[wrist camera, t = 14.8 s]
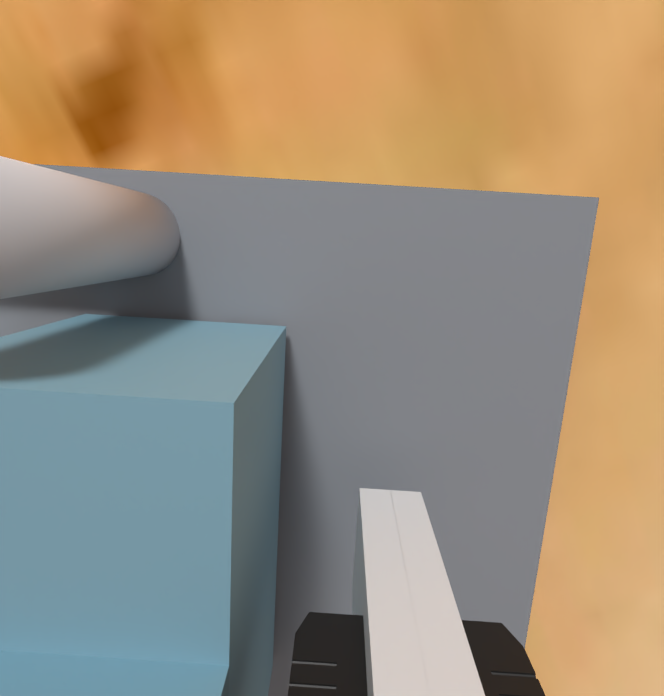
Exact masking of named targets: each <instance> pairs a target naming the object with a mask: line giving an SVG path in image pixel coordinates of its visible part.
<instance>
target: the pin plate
mask: <svg viewBox="0 0 664 696" xmlns="http://www.w3.org/2000/svg"><path fill="white" fill-rule="evenodd" d="M598 201H599V198H595V197H578V196H561V195H544V194H528V193H511V192H494V191H477V190H460V189H443V188H426V187H409V186H393V185H376V184H359V183H342V182H325V181H308V180H291V179H274V178H258V177H241V176H224V175H207V174H190V173H173V172H156V171H139V170H122V169H106V168H89V167H72V166H55V165H38V164H29V163H26V162H22V161H18V160H14V159H10V158H6V157H2V156H0V337H2V336H6V335H10V334H13V333H17V332H21V331H24V330H28V329H32V328H35V327H39V326H43V325H46V324H50V323H54V322H57V321H61V320H65V319H68V318H72V317H76V316H79V315H83V314H96V315H112V316H129V317H145V318H161V319H177V320H193V321H210V322H226V323H242V324H258V325H274V326H286V347H285V372H284V397H283V422H282V446H281V471H280V496H279V521H278V546H277V571H276V596H275V621H274V646H273V667H272V673H271V679H270V686H269V692H268V696H288V689H289V680H290V672H291V665H292V656H293V648H294V639H295V633H296V631H297V630H298V628H299V627H300V625H301V624H302V622H303V621H304V619H305V618H306V616H307V614H308V613H309V612H319V613H334V614H349V615H353V605H352V579H353V566H354V553H355V540H356V527H357V514H358V501H359V488H367V489H383V490H398V491H414V492H421V494H422V497H423V500H424V503H425V506H426V510H427V513H428V516H429V519H430V522H431V525H432V529H433V532H434V535H435V538H436V541H437V545H438V548H439V551H440V554H441V557H442V560H443V564H444V567H445V570H446V573H447V576H448V579H449V583H450V586H451V589H452V592H453V595H454V598H455V602H456V605H457V608H458V611H459V614H460V617H461V620H468V621H483V622H498V623H502V624H503V625H504V626H505V627H506V628H507V629H508V630H509V631H510V632H511V634H512V635H513V636H514V637H515V638H516V639H517V640H518V641H519V642H520V643H521V644H522V645H523V647H524V649H525V643H526V637H527V631H528V625H529V618H530V612H531V606H532V600H533V594H534V588H535V582H536V576H537V570H538V564H539V558H540V552H541V546H542V540H543V534H544V528H545V522H546V516H547V510H548V504H549V497H550V491H551V485H552V479H553V473H554V467H555V461H556V455H557V449H558V443H559V437H560V431H561V425H562V419H563V413H564V407H565V401H566V395H567V389H568V382H569V376H570V370H571V364H572V358H573V352H574V346H575V340H576V334H577V328H578V322H579V316H580V310H581V304H582V298H583V292H584V286H585V280H586V274H587V267H588V261H589V255H590V249H591V243H592V237H593V231H594V225H595V219H596V213H597V207H598Z"/></svg>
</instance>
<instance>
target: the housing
mask: <svg viewBox="0 0 664 696" xmlns="http://www.w3.org/2000/svg"><path fill="white" fill-rule="evenodd" d="M285 347H286V326H274V325H258V324H242V323H226V322H210V321H193V320H177V319H161V318H145V317H129V316H112V315H96V314H83V315H79V316H76V317H72V318H68V319H65V320H61V321H57V322H54V323H50V324H46V325H43V326H39V327H35V328H32V329H28V330H24V331H21V332H17V333H13V334H10V335H6V336H2V337H0V696H268V692H269V686H270V679H271V673H272V667H273V646H274V621H275V596H276V571H277V546H278V521H279V496H280V471H281V446H282V422H283V397H284V372H285Z"/></svg>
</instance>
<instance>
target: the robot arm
mask: <svg viewBox="0 0 664 696" xmlns="http://www.w3.org/2000/svg"><path fill="white" fill-rule="evenodd" d="M352 605H353V615H349V614H334V613H319V612H309V613H308V614H307V616H306V618H305V619H304V621H303V622H302V624H301V625H300V627H299V628H298V630H297V631H296V633H295V639H294V648H293V656H292V665H291V672H290V680H289V689H288V696H545V694H544V692H543V689H542V687H541V685H540V683H539V680H538V679H536V676H535V671H534V669H533V667H532V665H531V663H530V660H529V658H528V656H527V654H526V651H525V649H524V647H523V645H522V644H521V643H520V642H519V641H518V640H517V639H516V638H515V637H514V636H513V635H512V634H511V632H510V631H509V630H508V629H507V628H506V627H505V626H504V625H503V624H502V623H498V622H483V621H468V620H461V617H460V614H459V611H458V608H457V605H456V602H455V598H454V595H453V592H452V589H451V586H450V583H449V579H448V576H447V573H446V570H445V567H444V564H443V560H442V557H441V554H440V551H439V548H438V545H437V541H436V538H435V535H434V532H433V529H432V525H431V522H430V519H429V516H428V513H427V510H426V506H425V503H424V500H423V497H422V494H421V492H414V491H398V490H383V489H367V488H359V501H358V514H357V527H356V540H355V553H354V566H353V579H352Z"/></svg>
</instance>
